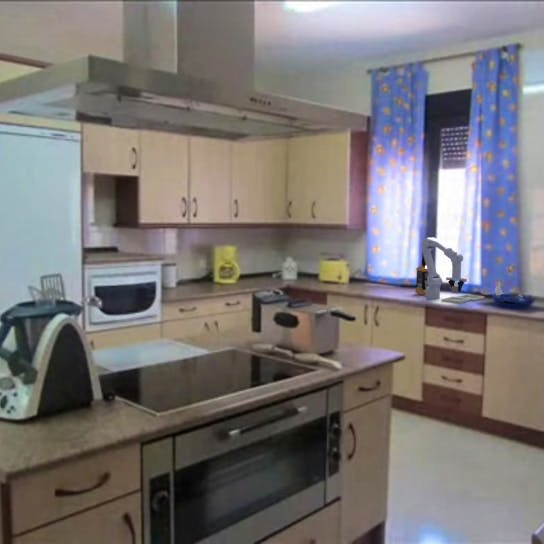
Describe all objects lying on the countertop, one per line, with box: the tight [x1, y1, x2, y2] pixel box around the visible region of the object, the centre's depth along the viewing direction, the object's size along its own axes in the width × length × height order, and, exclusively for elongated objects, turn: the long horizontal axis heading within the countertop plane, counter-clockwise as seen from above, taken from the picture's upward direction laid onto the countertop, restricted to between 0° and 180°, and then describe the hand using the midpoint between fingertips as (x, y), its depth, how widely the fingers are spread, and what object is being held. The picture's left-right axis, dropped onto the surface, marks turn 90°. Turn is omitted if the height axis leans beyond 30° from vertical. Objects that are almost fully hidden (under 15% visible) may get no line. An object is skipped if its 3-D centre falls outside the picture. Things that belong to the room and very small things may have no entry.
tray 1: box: [441, 296, 471, 304], centre depth 413 cm, size 14×14×2 cm
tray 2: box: [457, 294, 485, 302], centre depth 421 cm, size 14×14×2 cm
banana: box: [494, 280, 523, 297], centre depth 409 cm, size 5×19×15 cm, turn 50°
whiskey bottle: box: [414, 252, 429, 296], centre depth 450 cm, size 10×10×32 cm
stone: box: [450, 285, 462, 294], centre depth 412 cm, size 4×4×4 cm
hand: (456, 291), depth 412 cm, fingers closed on stone, 4 cm apart
